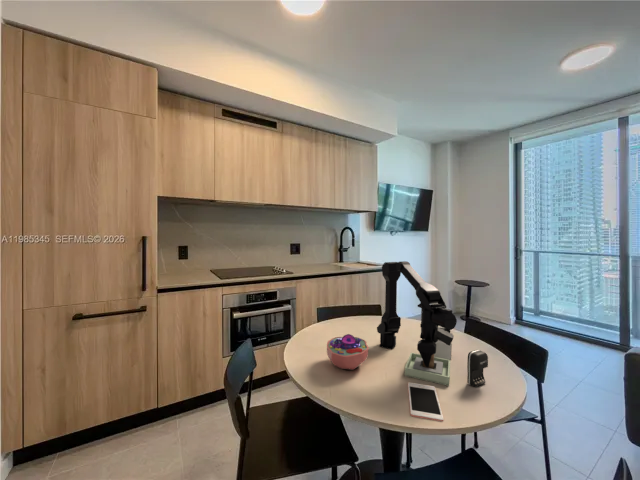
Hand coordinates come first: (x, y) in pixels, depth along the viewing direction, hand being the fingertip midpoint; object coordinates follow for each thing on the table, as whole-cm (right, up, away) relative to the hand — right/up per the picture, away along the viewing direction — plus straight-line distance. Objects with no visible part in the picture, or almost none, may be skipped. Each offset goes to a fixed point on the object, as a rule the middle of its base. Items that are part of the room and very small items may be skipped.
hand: (428, 361), depth 106 cm
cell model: (-31, -4, +5) cm, 31 cm away
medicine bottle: (+11, -4, +14) cm, 18 cm away
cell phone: (-9, -5, -19) cm, 21 cm away
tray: (0, -4, 0) cm, 4 cm away
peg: (0, -3, 0) cm, 3 cm away
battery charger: (+14, -4, -9) cm, 17 cm away
